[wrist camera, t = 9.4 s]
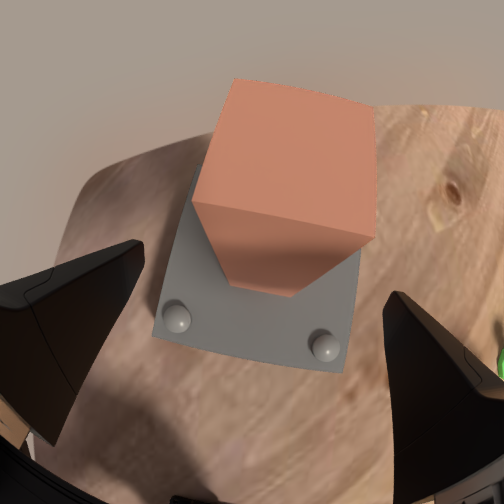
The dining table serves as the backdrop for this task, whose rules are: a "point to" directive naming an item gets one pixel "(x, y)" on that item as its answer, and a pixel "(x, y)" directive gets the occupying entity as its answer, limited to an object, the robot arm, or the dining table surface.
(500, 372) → the game piece
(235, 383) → the dining table surface
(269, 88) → the pillar brick
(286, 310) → the base brick
